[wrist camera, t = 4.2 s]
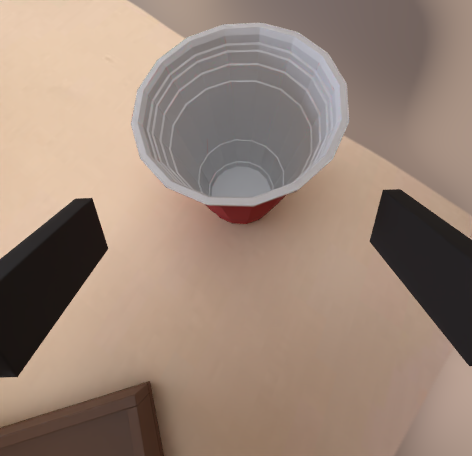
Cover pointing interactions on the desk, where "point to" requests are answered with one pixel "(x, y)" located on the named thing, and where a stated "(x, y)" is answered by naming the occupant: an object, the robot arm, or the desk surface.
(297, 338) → the desk surface
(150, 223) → the desk surface
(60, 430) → the tray
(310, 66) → the plastic cup
